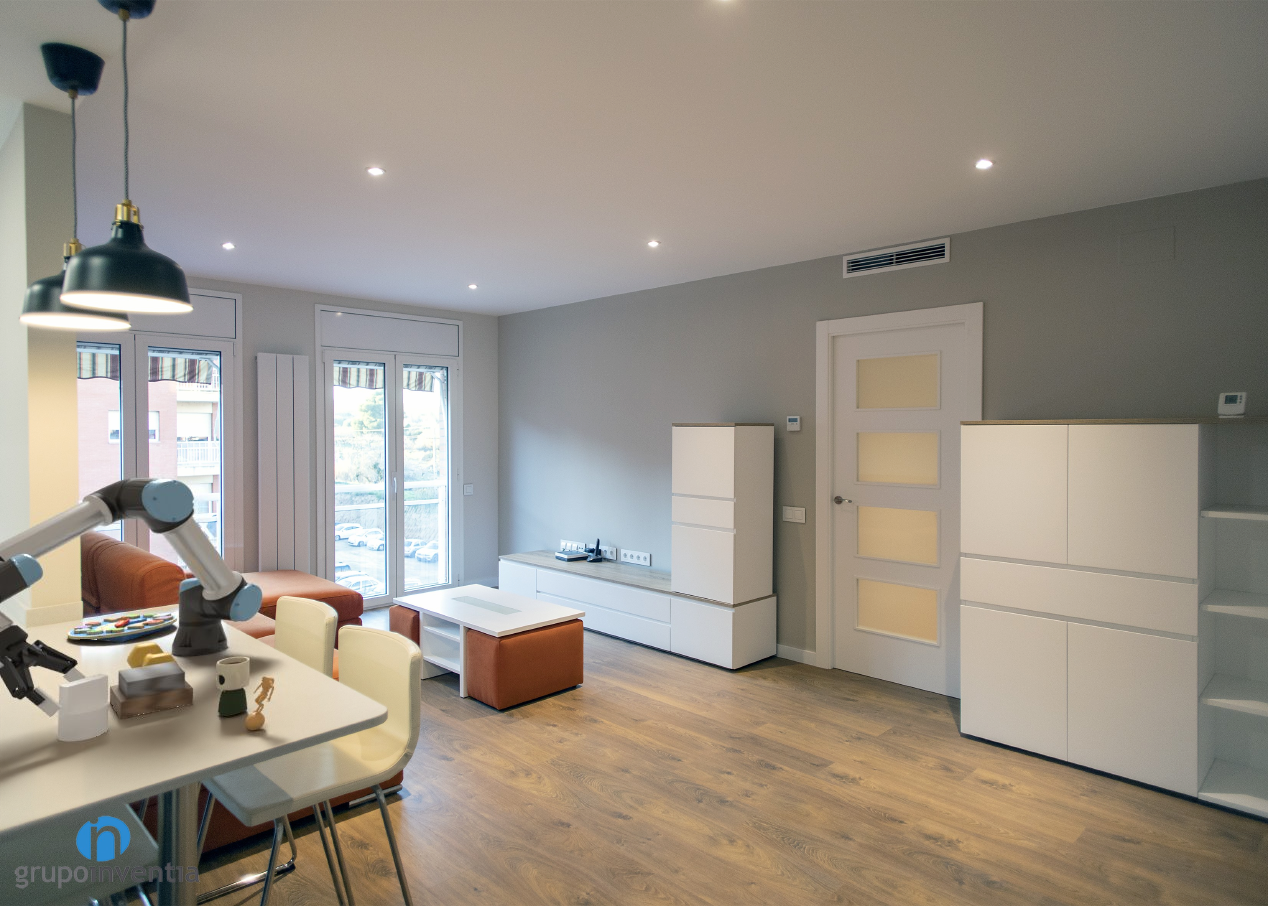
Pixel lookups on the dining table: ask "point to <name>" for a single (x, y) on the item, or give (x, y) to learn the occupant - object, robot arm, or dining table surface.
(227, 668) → the character mug
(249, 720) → the figurine
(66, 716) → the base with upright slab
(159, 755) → the dining table surface
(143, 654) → the dumbbell
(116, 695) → the grey and brown block
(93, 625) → the shape sorting clock
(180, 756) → the dining table surface
